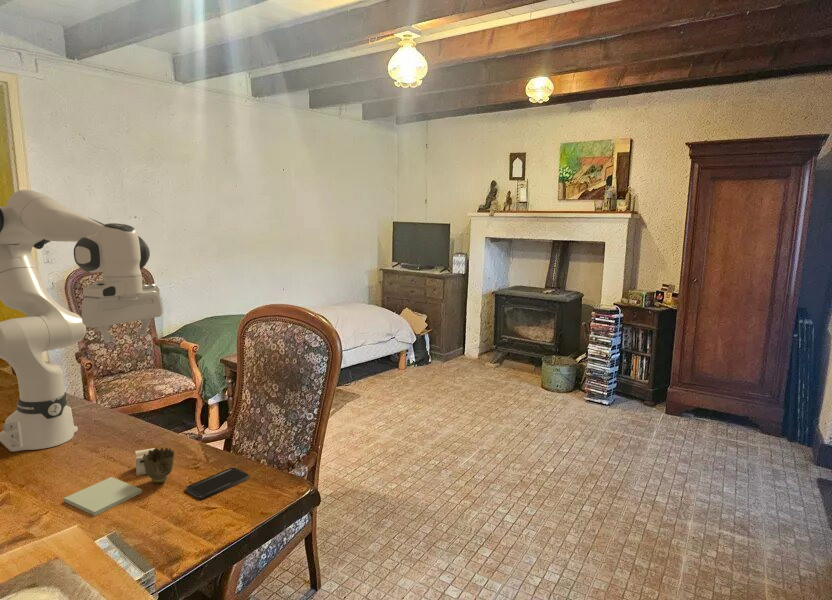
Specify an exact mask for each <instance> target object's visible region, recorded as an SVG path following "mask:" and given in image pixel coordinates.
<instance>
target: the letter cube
mask: <svg viewBox="0 0 832 600" xmlns="http://www.w3.org/2000/svg"><path fill="white" fill-rule="evenodd" d="M155 448H156V447H152V448H147V449H140V450H135V471H136V474H135V475H136V476H141V475H147V474H146V471H145V466H144V460H143V456H144V454H145V455H148V452H149V450H151V451H153V450H154V449H155Z"/></svg>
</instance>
